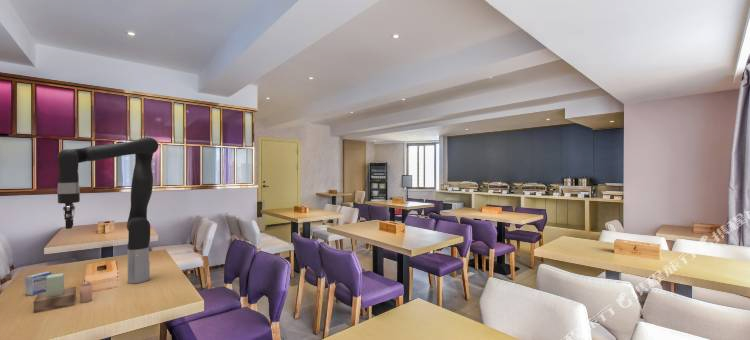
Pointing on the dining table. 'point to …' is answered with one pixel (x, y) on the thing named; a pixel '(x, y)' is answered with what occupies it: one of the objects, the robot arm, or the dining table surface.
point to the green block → (55, 285)
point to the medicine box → (36, 283)
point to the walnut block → (54, 300)
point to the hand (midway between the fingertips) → (69, 227)
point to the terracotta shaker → (85, 292)
